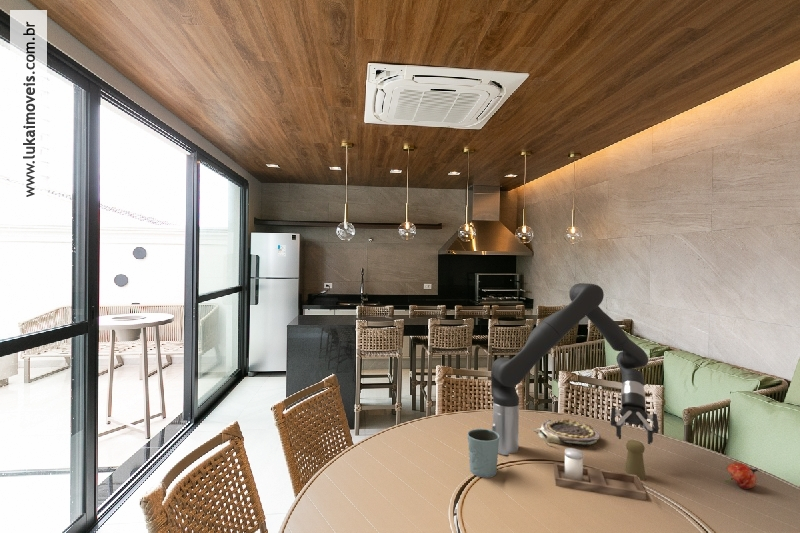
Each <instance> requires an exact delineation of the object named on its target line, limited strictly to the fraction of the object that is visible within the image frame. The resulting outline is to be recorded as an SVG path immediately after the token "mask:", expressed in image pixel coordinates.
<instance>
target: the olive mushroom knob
mask: <svg viewBox="0 0 800 533" xmlns="http://www.w3.org/2000/svg"><path fill="white" fill-rule="evenodd" d="M625 447H626V450H627V454H626V459H625V460H626V461H625V467H624V473H625V474H632V475H637V477H638V479H639V481H645V480H646V469H645V462H644V453H645V445H644V444H643V443H642V441H638V440H635V439H629V440H627V441H626V443H625Z"/></svg>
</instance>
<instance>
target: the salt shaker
mask: <svg viewBox="0 0 800 533" xmlns="http://www.w3.org/2000/svg"><path fill="white" fill-rule="evenodd" d="M564 464H565V479H570V480H577V481H583V467H584V453H583V451H581V450H580V449H576V448H573V447H572V448H571V447H570V448H568V447H567V448H565V449H564Z"/></svg>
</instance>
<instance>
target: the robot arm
mask: <svg viewBox="0 0 800 533" xmlns="http://www.w3.org/2000/svg"><path fill="white" fill-rule="evenodd" d="M568 293H569V299H570V301H571V302H570V303H569V304H567V305H566V306H565V307H562V309H560V310H558V311H556V312H554V313H552V314H550V315H548V316H547V317H545V318H544V319H543V320H542V321H540V322H539V323H538V325H537V326H535V327H534V328H533V329H532V331H531V332H530V334H529V336H528V338H527V340H526V343H525V344H524V346H523V347H522V348H521V350H519V352H517V354H515V356H513V357H512V358H510V359H509V358H508V357H498V358H497V359H495V361H493V363H492V365H491V369H490V385H491V386H490V388H491V395H492V426H491V430H492V431H494V432H496V433H498V434H499V446H498V455H503V456H509V455H510V454H515V453H517V452H519V442H520V441H519V440H520V439H519V436H520V435H519V434H520V432H519V430H520V428H519V427H520V424H519V422H520V420H519V419H520V397H519V395H518V393H517V389H516V386H517V385H519V384H520V383H521V382H522V381H523V380H524V379H525V377H526V376H527V375H528V374H529V372H530V371H532V368H534V366H535V365H536V364H537V363H538V362H539V361H540V360H541V359H542V358H543V357H544V356H546V354H547V353H548V352H550V351H551V350H552V348H554V347H555V346H556V345H557V344H558V343H559V342H560V341H561V340H562V339H563V338H564V337H565V336H566V335H567V334H568V333H569V332H570V331H572V329H573V328H574V327H575V326H576V325H577V324H578V323H579V322H580V321H581V320H583V319H584V318H585V317H587V319H588V320H589V321H590V322H591V323H592V324H593V326H595V328H596V329H597V330H598V331H599V332H600V334H601V335H602V337H604V339H605V340H606V342H607V343H608V345H609V346H610V347H611V349H612V350H614V351H616V352H618V353H617V356H616V363H617V365H618V368H619V370H620V374H621V390H620V391H621V392H620V395H621V396H620V397H621V398H620V399H621V400H620V401H621V402H620V404H621V405H620V406H621V407H620V409H618V408H616V407H614V406H613V407H611V414H610V425H611V426H612V427H615V430H616V431H615V433H616V434H615V436H616V437H617V438H618V439H619V440H622V427H624V426H625V425H627V424H628V425H634V426H641V427H642V428H643V430H645V431H646V433H647V434H646V435H647V444H648V445H651V444H652V443H653V441H654V437H653V436H654V435H653V434H658V433H659V430H660V427H659V426H660V425H659V421H658V415H657V414H656V413H655V412H654V413H653V414H651V413H648V412H647V408H646V407H647V406H646V391H645V382H644V374H643V373H642V371H640V370H639V368H643V367H645V366H647V365H648V363H649V356H648V355H647V353H646V352H645V350H644V349H642V347H640V346H639V345H637V344H636V343H635V342H634V341H633V340H631V339H630V338H629V337H628V335H627V333H625V331H624V330H623V329H622V327H621V326H620V325H619V324H618V322H616V321H615V320H614V319H612V318H611V317H610V316H609V315H608V314H607V313H605V311H604V310H603V309H602V308H601V307H600V305H601V304H602V302H603V301H604V295H605V294H604V293H605V292H604V289H603V288H602V287H601V286H599V285H597V284H595V283H585V282H582V283H581V282H580V283H579V282H578V283H576V284H574V285H572V287H570V289H569V292H568ZM619 414H620V416H621V417H620V419H618V421H616V417H617V416H618V415H619ZM648 419H649V420H650V422H652V425H653V426H652V427H651V425H650V424H649V422H648V421H647V420H648Z"/></svg>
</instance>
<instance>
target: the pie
mask: <svg viewBox="0 0 800 533" xmlns="http://www.w3.org/2000/svg"><path fill="white" fill-rule="evenodd" d="M533 431H534V432H535V433H536V434H538V436H539V438H541V439H544V440H543V441H544V442H545V444H546V445H548V446H550V444H551V443H555V444H559V445H568V446H569V445H570V446H574V447H575V446H580V447H587V448H588V447H590V446H593V444H597V441H598V440H599V439H600V438H601V433H600V431H599V430H597V428H595V427H592V426H591V425H590V424H586V423H583V422H578V421H577V420H572V419H569V418H568V419H566V418H563V419H562V418H560V419H559V418H558V419H553V420H552V419H547V420H545V421H543V422H542V424H541V427H538V428H534V429H533ZM538 431H539V432H538ZM552 448H555V446H552Z"/></svg>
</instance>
